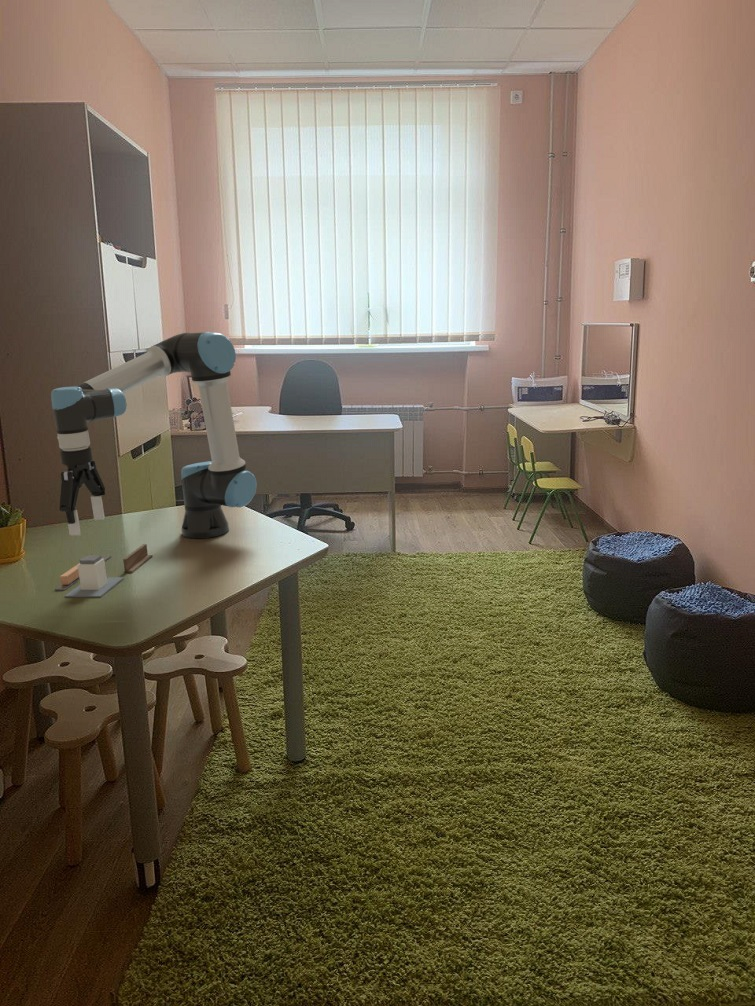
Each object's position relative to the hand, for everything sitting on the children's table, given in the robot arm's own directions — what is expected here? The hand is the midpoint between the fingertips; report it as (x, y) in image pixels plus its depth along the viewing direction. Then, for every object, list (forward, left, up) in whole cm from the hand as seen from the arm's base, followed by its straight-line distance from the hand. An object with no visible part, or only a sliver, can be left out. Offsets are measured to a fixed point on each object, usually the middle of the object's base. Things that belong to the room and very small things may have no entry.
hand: (87, 527), depth 210 cm
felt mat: (0, 0, -17) cm, 17 cm away
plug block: (0, 0, -17) cm, 17 cm away
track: (+9, -12, -17) cm, 22 cm away
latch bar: (+9, -6, -17) cm, 20 cm away
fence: (-3, -19, -17) cm, 25 cm away
